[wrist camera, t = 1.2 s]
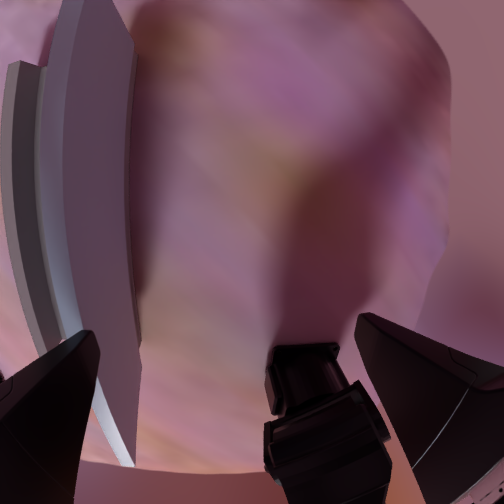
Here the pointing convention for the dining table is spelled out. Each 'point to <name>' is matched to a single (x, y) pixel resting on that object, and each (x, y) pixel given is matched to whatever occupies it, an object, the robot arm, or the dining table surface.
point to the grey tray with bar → (39, 201)
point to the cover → (92, 202)
